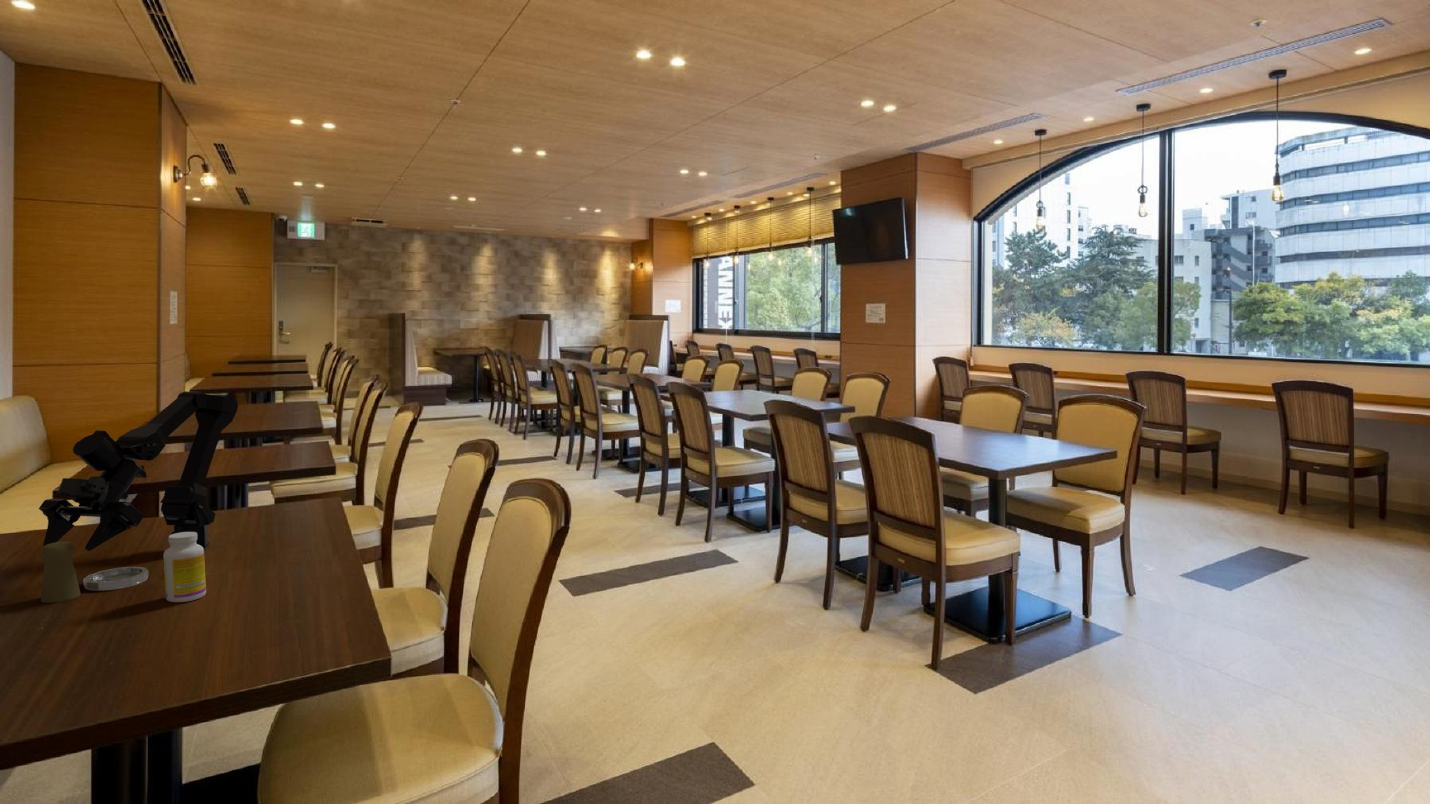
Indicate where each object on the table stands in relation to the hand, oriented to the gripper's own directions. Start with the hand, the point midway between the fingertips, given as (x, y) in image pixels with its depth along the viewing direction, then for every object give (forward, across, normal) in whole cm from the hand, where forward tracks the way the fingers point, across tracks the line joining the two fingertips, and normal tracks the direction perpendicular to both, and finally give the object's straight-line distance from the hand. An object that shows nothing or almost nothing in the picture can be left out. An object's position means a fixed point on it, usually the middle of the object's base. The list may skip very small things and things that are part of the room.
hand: (66, 548), depth 152 cm
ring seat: (+1, +3, +12) cm, 12 cm away
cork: (+8, 0, +6) cm, 10 cm away
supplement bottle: (+6, +24, +8) cm, 26 cm away
